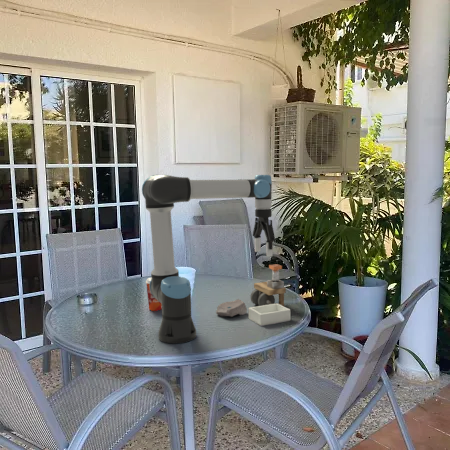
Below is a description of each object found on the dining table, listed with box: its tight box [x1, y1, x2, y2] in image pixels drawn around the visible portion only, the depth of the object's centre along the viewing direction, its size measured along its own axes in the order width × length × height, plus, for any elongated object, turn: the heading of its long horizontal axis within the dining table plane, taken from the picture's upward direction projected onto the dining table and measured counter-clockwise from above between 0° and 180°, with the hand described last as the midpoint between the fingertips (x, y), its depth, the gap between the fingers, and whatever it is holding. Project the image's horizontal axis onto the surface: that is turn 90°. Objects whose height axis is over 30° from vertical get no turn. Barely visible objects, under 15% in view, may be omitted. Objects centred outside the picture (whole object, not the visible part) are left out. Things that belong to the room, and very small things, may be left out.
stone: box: [215, 298, 248, 318], centre depth 204 cm, size 13×10×6 cm
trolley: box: [250, 279, 287, 307], centre depth 214 cm, size 12×15×13 cm
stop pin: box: [268, 263, 283, 282], centre depth 210 cm, size 4×4×11 cm
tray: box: [247, 302, 291, 327], centre depth 196 cm, size 15×11×5 cm
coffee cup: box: [145, 277, 162, 312], centre depth 214 cm, size 8×8×15 cm
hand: (263, 254), depth 206 cm, fingers open, 13 cm apart
